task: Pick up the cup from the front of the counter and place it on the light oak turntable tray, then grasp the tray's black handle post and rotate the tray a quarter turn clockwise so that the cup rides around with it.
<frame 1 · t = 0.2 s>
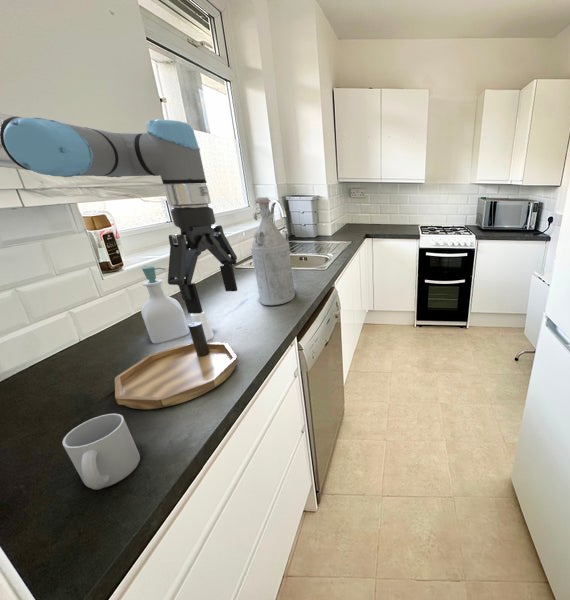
hand: (215, 300, 73), 19 cm above the countertop, tool pointing down, fingers open, 13 cm apart
soap bottle: (171, 338, 97), on the countertop
grey jug bottle: (278, 299, 126), on the countertop
salt shaker: (204, 338, 96), on the countertop
tray: (176, 358, 75), point 6 cm above the countertop, hinge at 0.0°
cup: (112, 477, 52), on the countertop
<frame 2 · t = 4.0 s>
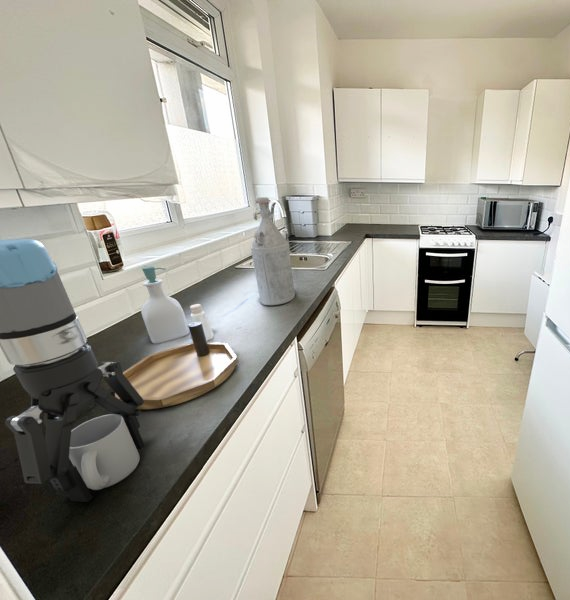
hand: (111, 471, 51), 1 cm above the countertop, tool pointing down, fingers closed on cup, 9 cm apart
cup: (111, 478, 52), on the countertop, touching gripper
everything else where it was.
when the fingers open (3 cm above the countertop, at t = 11.0 s): cup stays where it is, resting on tray.
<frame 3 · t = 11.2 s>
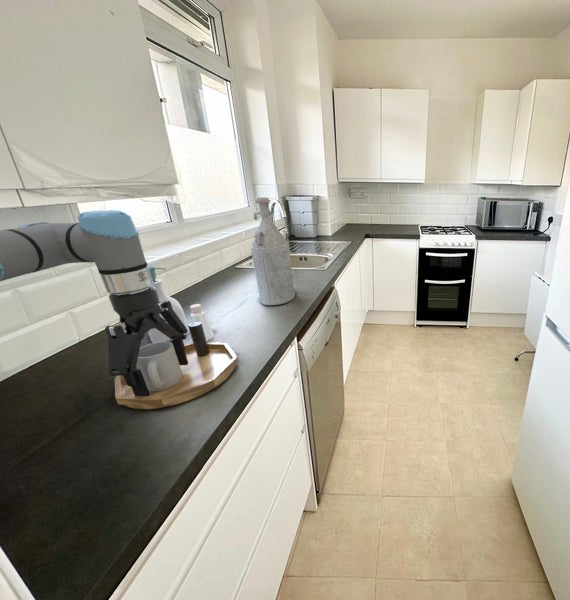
hand: (164, 378, 72), 3 cm above the countertop, tool pointing down, fingers open, 11 cm apart
tray: (176, 358, 75), point 6 cm above the countertop, hinge at 0.1°, touching cup, gripper
cup: (164, 386, 72), point 1 cm above the countertop, touching tray
everything else where it was.
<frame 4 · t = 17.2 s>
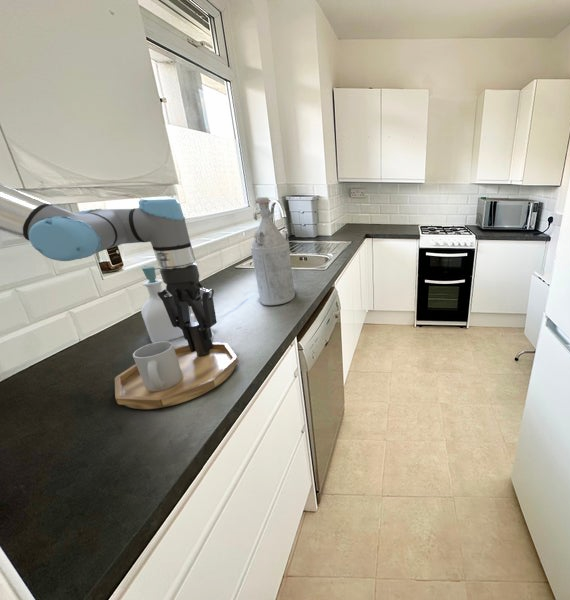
hand: (202, 349, 84), 3 cm above the countertop, tool pointing down, fingers closed on tray, 3 cm apart
tray: (176, 358, 75), point 6 cm above the countertop, hinge at 0.0°, touching cup, gripper
everything else where it was.
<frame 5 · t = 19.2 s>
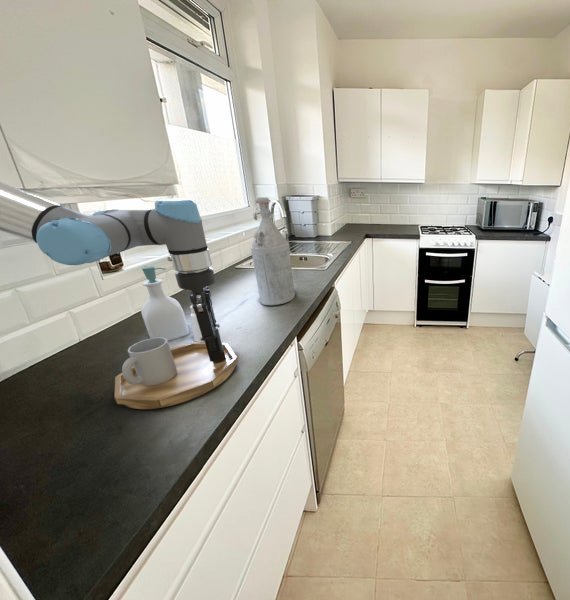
hand: (216, 355, 81), 3 cm above the countertop, tool pointing down, fingers open, 3 cm apart
tray: (176, 358, 75), point 6 cm above the countertop, hinge at -46.4°, touching cup, gripper
cup: (154, 381, 73), point 1 cm above the countertop, touching tray
everything else where it was.
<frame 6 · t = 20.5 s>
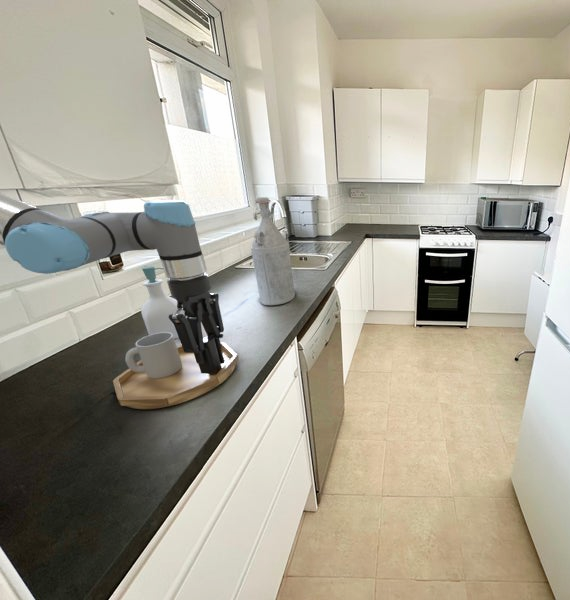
hand: (213, 367, 76), 3 cm above the countertop, tool pointing down, fingers open, 4 cm apart
tray: (176, 358, 75), point 6 cm above the countertop, hinge at -85.2°, touching cup, gripper
cup: (158, 373, 77), point 1 cm above the countertop, touching tray
everything else where it was.
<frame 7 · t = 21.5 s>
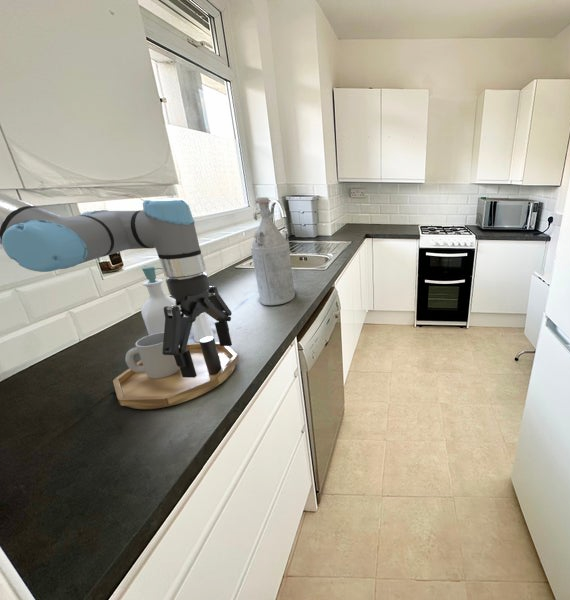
hand: (209, 359, 75), 5 cm above the countertop, tool pointing down, fingers open, 13 cm apart
tray: (176, 358, 75), point 6 cm above the countertop, hinge at -85.3°, touching cup
everything else where it was.
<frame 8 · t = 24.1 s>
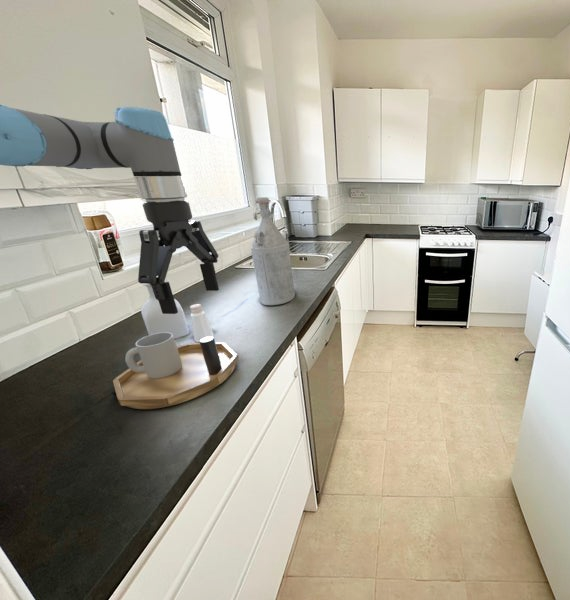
hand: (193, 300, 69), 21 cm above the countertop, tool pointing down, fingers open, 13 cm apart
nothing on the countertop moved.
at the end: tray at -85° (first picture: +0°); cup inside the target area on the tray (0.6 cm from its centre), point 1.5 cm above the tray's base; cup tilted 0° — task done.
